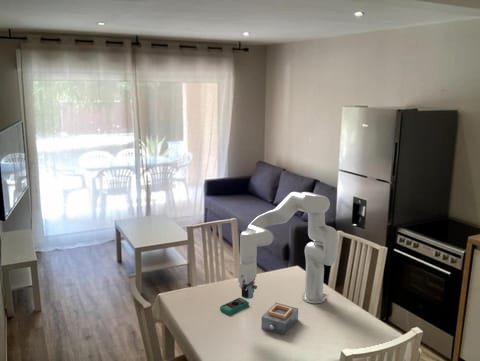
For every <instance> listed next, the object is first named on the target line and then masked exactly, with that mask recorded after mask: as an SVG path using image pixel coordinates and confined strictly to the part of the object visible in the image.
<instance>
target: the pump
mask: <svg viewBox="0 0 480 361" xmlns="http://www.w3.org/2000/svg"><path fill="white" fill-rule="evenodd" d="M244 283H246V282H244ZM244 286H245V287H246V285H245V284H244ZM253 289H254V290H257V289H258V286H257V285H255V284H253V281H251V282H250V283H249V284H248V289H247V290H248V298H244V297H242V299H245V300H249V299H253V298H254V293H253Z"/></svg>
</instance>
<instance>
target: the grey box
mask: <svg viewBox="0 0 480 361" xmlns="http://www.w3.org/2000/svg"><path fill="white" fill-rule="evenodd" d="M298 320H299V308H297V307H294V306H291V305H286V304H283V303H280V302H275V303H274V304H273V305H271V307H270V308H269V309H268V310H266V312H265V313H264V314H263V315H262V316H261V329H262V330H265V331H268V332H271V333H274V334H277V335H282V336H286V335H287V334H288V333H289V331H290V330H291V329H292V328H293V327H294V325H295V324H296V323H297V321H298Z"/></svg>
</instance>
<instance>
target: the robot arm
mask: <svg viewBox="0 0 480 361" xmlns="http://www.w3.org/2000/svg"><path fill="white" fill-rule="evenodd" d="M330 208H331V203H330V199H329V198H328V197H327V196H324V195H321V194H317V193H313V192H310V191H302V192H299V191H291V192H290V193H289V194H287V196H286V197H284V198H283V199H282V201H280V203H279V204H277V206H276V207H275V208H274V209H272V210H269V211H267V212H264V213H263V214H259V215H258V216H257V217H256V218H254V219H253V220H252V221H251V222H250V223H249V224H248V226H246V229H245V230H243V231H241V233H240V235H239V261H240V262H239V264H238V265H239V266H238V276H237V282H238V284H239V285H238V286H239V287H238V288H240V290H241V298H243V297H244V298H243V299H245V298H248V290H247V289H248V284H249V283H250V282H251V281H253V285H255V282H256V278H257V268H258V267H257V258H258V257H257V252H258V251H257V248H258V247H264V246H265V247H266V246H269V245H271V244H272V243H273V241H274V233H273V232H272V231H271V230H269V229H267V227H269V226H272V225H281V224H286V223H287V222H288V221H290V219H291V218H292V217H293V216H294V215H295V214H296V213H298V211H300V212H304V213H307V216H308V217H307V219H308V221H307V223H308V224H307V226H308V227H307V235H308V237H309V239H310V240H312V241H310V242H308V243H306V245H305V247H304V256H305V281H304V282H305V283H304V284H305V285H304V292H303V293H302V294H301V299H302V300H303V301H304V302H306V303H309V304H321V303H324V302H325V301H326V295H325V294H324V275H325V266H333V265H334V264H335V263H336V261H337V258H338V248H339V247H338V246H339V245H338V244H339V242H338V240H339V235H338V231H337V230H336V229H335V227H332V226H330V225H327V224H326V215H325V214H326V212H328V210H329V209H330ZM244 282H246V283H244ZM244 284H245V285H246V287H245V286H244ZM254 293H255V289H253V294H254Z"/></svg>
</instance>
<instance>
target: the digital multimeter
mask: <svg viewBox="0 0 480 361" xmlns="http://www.w3.org/2000/svg"><path fill="white" fill-rule="evenodd" d="M249 306H250V302H249V301H247V299H245V298H243V297H238V298H235V299H234V300H231V301H229V302H227V303H225V304H222V305H221V306H220V307H219V310H220V311H221V312H222V313H224V314H226V315H229V316H231V315H232V314H234V313H237V312H238V311H240V310H243V309H245V308H247V307H249Z"/></svg>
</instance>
